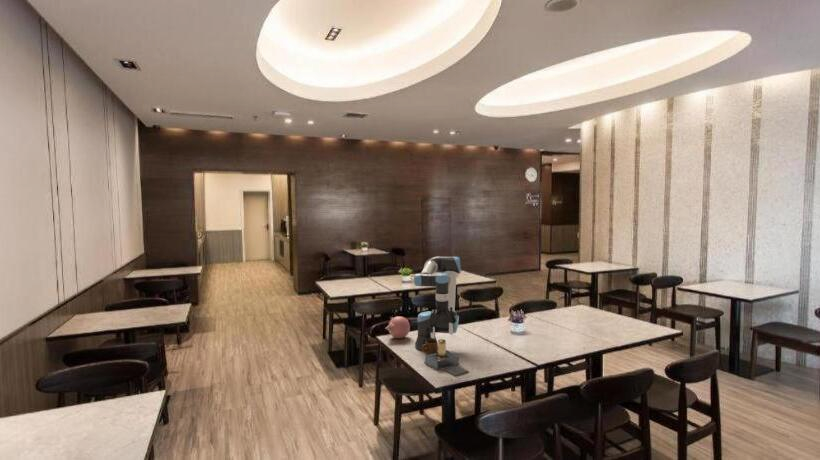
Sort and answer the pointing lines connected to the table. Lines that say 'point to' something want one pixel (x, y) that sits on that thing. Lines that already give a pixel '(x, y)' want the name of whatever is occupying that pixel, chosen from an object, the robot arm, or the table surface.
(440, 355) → the gold metal cylinder
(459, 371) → the mat
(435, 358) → the housing
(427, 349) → the mug
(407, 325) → the balloon
